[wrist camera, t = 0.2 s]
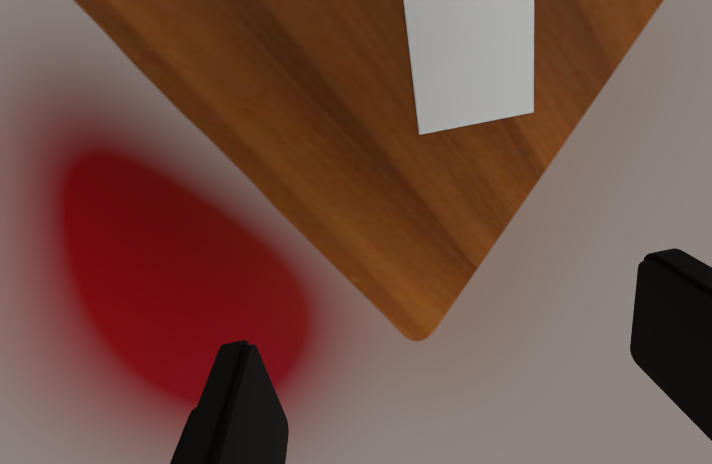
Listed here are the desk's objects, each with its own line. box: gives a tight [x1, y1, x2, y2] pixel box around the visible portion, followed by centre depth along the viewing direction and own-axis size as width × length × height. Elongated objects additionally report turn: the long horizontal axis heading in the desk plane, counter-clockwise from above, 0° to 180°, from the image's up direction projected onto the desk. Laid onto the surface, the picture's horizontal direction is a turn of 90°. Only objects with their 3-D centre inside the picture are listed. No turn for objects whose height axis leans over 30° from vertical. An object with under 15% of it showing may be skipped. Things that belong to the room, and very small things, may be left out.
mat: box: [403, 0, 534, 135], centre depth 35 cm, size 12×11×1 cm
